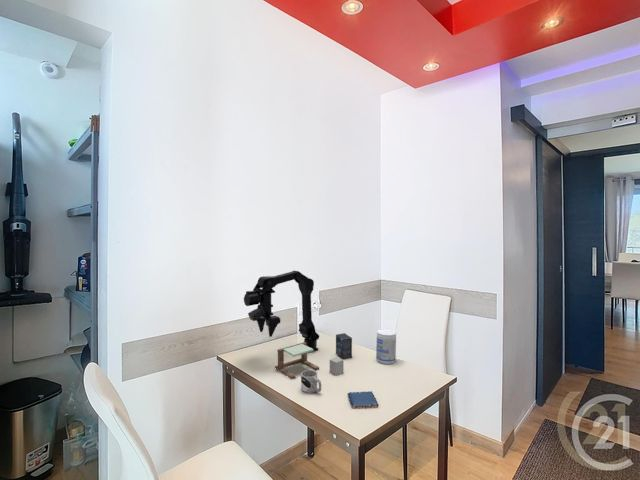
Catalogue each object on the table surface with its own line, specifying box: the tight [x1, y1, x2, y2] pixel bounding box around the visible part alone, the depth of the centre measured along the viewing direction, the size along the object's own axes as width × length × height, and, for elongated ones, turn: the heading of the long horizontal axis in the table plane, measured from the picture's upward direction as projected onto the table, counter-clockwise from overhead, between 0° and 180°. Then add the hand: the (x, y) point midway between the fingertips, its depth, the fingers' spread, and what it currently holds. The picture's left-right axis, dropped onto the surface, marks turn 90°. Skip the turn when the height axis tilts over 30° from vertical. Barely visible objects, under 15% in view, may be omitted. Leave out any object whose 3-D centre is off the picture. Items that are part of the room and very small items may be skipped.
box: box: [335, 332, 353, 360], centre depth 172 cm, size 8×6×11 cm
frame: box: [274, 341, 320, 380], centre depth 156 cm, size 14×16×10 cm
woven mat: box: [347, 390, 380, 410], centre depth 127 cm, size 10×11×2 cm
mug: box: [300, 369, 322, 394], centre depth 136 cm, size 10×7×7 cm
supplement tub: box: [375, 328, 397, 365], centre depth 165 cm, size 10×10×15 cm
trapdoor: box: [283, 343, 314, 357], centre depth 155 cm, size 9×11×1 cm
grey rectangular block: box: [329, 356, 344, 376], centre depth 152 cm, size 4×4×6 cm
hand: (265, 334), depth 162 cm, fingers open, 9 cm apart
